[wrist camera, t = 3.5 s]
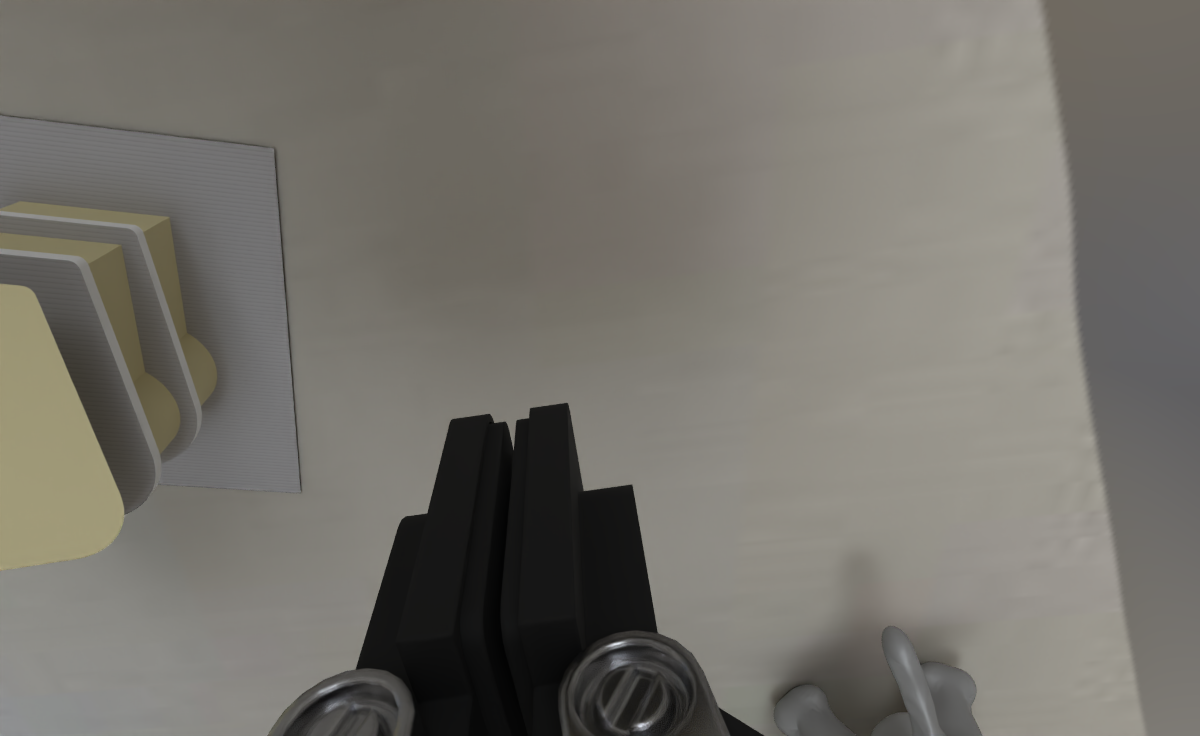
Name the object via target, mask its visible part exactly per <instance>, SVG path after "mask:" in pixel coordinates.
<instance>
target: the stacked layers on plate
mask: <svg viewBox="0 0 1200 736" xmlns="http://www.w3.org/2000/svg"><path fill="white" fill-rule="evenodd" d="M157 485H173V486H190V487H206V488H222V489H238V490H254V491H270V492H286V493H301V490H300V477H299V465H298V452H297V439H296V427H295V414H294V401H293V388H292V376H291V363H290V350H289V338H288V325H287V312H286V300H285V287H284V274H283V261H282V249H281V236H280V223H279V211H278V198H277V185H276V172H275V160H274V148H268V147H259V146H251V145H243V144H234V143H226V142H218V141H209V140H201V139H193V138H184V137H176V136H167V135H159V134H151V133H142V132H134V131H126V130H117V129H109V128H100V127H92V126H84V125H75V124H67V123H59V122H50V121H42V120H34V119H25V118H17V117H8V116H0V571H2V570H8V569H15V568H21V567H28V566H35V565H41V564H48V563H54V562H61V561H68V560H74V559H80V558H84V557H87V556H90V555H93V554H95V553H97V552H99V551H101V550H103V549H104V548H106V547H107V546H108V545H110V544H111V543H112V542H113V541H114V540H115V538H116V537H117V536H118V534H119V532H120V530H121V528H122V525H123V520H124V515H125V514H128V513H130V512H132V511H133V510H135V509H137V508H138V507H139V506H141V505H142V504H143V503H144V502H145V501H146V500H147V498H148V497H149V496H150V495H151V493H152V492H153V491H154V489H155V488H156V486H157Z"/></svg>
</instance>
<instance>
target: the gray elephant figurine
mask: <svg viewBox="0 0 1200 736" xmlns="http://www.w3.org/2000/svg"><path fill="white" fill-rule="evenodd" d="M882 646H883V651H884V654H885V657H886V660H887V663H888V665H889V667H890V669H891V672H892V674H893V676H894V678H895V680H896V682H897V684H898V687H899V689H900V692H901V695H902V698H903V701H904V704H905V707H906V709H907V711H908V713H905V712H898V713H894V714H892V715H890V716H888V717H886V718H884V719H883V720H881V721H880V722H879V723H878V724H877V725H876V727H875V728H874V730H873V731H872V733H871V735H870V736H982V734H981V731H980V729H979V727H978V725H977V723H976V721H975V719H974V717H973V715H972V712H971V705H972V703H973V701H974V699H975V696H976V685H975V682H974V680H973V679H972V677H971V676H970V675H969V674H968V673H966V672H965V671H963V670H961V669H959V668H956V667H952V666H948V665H945V664H942V663H939V662H927V663H924V664H922V665H920V662H919V660H918V657H917V654H916V652H915V650H914V647H913V645H912V643H911V641H910V640H909V638H908V637H907V635H906V634H905V633H904V632H903V631H902V630H901V629H899V628H898V627H895V626H888V627H886V628H885V629H884V631H883V633H882ZM773 715H774V721H775V723H776V725H777V727H778V728H779V729H780V730H781V731H782V732H783V733H784V734H786V735H787V736H857V735H856V734H855V733H854V732H852V731H851V730H850V729H849V728H848V727H846V726H845V725H844V724H843V723H842V722H841V721H840V720H838V719H837V718H836V716H835V715H834V714H833V712H832V710H831V709H830V706H829V703H828V699H827V697H826V695H825V693H824V692H823V691H822V690H821V689H820V688H819V687H817V686H814V685H801V686H798V687H795V688H793V689H792V690H791V691H789V692H788V693H787V694H786V695H785V696H784V697H783V698H782V699H780V700H779V702H778V703H777V704H776V706H775V708H774V713H773Z"/></svg>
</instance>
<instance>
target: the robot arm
mask: <svg viewBox="0 0 1200 736" xmlns="http://www.w3.org/2000/svg"><path fill="white" fill-rule="evenodd" d="M267 736H764V735H762V734H760V733H759V732H757V731H756V730H754V729H752V728H751V727H749V726H748V725H746V724H744V723H743V722H741V721H740V720H738V719H736V718H735V717H733V716H731V715H730V714H728V713H727V712H725V711H723V710H722V709H720V708H719V707H718V705H717V703H716V700H715V698H714V695H713V693H712V691H711V688H710V686H709V684H708V681H707V679H706V676H705V674H704V672H703V670H702V668H701V667H700V665H699V663H698V662H697V660H696V659H695V657H694V656H693V654H692V653H691V652H690V651H688V650H687V649H686V648H685V647H683V646H682V645H681V644H680V643H678V642H677V641H676V640H673V639H671V638H668V637H666V636H663V635H661V634H658V632H657V626H656V620H655V614H654V608H653V602H652V597H651V591H650V585H649V579H648V573H647V567H646V562H645V556H644V550H643V544H642V538H641V532H640V526H639V521H638V515H637V509H636V503H635V497H634V492H633V486H632V485H626V486H618V487H611V488H604V489H597V490H590V491H583V485H582V479H581V473H580V468H579V462H578V456H577V450H576V444H575V438H574V433H573V427H572V421H571V415H570V410H569V405H568V403H563V404H556V405H549V406H542V407H535V408H530V414H529V418H528V419H521V420H517V422H516V432H515V443H514V450H513V446H512V441H511V437H510V432H509V428H508V425H507V423H506V422H499V423H494V421H493V418H492V416H491V415H490V414H485V415H478V416H471V417H464V418H457V419H452V420H451V422H450V425H449V429H448V433H447V437H446V441H445V445H444V449H443V453H442V457H441V461H440V465H439V469H438V473H437V477H436V481H435V485H434V489H433V493H432V497H431V501H430V505H429V509H428V513H427V514H421V515H414V516H406V517H405V518H403V519H402V520H401V522H400V524H399V527H398V530H397V533H396V536H395V540H394V543H393V546H392V550H391V553H390V556H389V560H388V563H387V566H386V570H385V573H384V576H383V580H382V583H381V587H380V590H379V593H378V597H377V600H376V603H375V607H374V610H373V613H372V617H371V620H370V623H369V627H368V630H367V633H366V637H365V640H364V643H363V647H362V650H361V653H360V657H359V660H358V663H357V667H356V670H351V671H345V672H343V673H340V674H338V675H335V676H333V677H330V678H327V679H325V680H323V681H321V682H320V683H318V684H317V685H315V686H314V687H312V688H310V689H309V690H307V691H306V692H304V693H303V694H302V695H301V696H299V697H298V698H297V699H296V700H295V701H294V702H293V703H292V704H291V705H290V706H289V707H288V708H287V709H286V710H285V711H284V712H283V713H282V715H281V716H280V717H279V719H278V720H277V722H276V723H275V725H274V726H273V727H272V729H271V730H270V732H269V734H268V735H267Z"/></svg>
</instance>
